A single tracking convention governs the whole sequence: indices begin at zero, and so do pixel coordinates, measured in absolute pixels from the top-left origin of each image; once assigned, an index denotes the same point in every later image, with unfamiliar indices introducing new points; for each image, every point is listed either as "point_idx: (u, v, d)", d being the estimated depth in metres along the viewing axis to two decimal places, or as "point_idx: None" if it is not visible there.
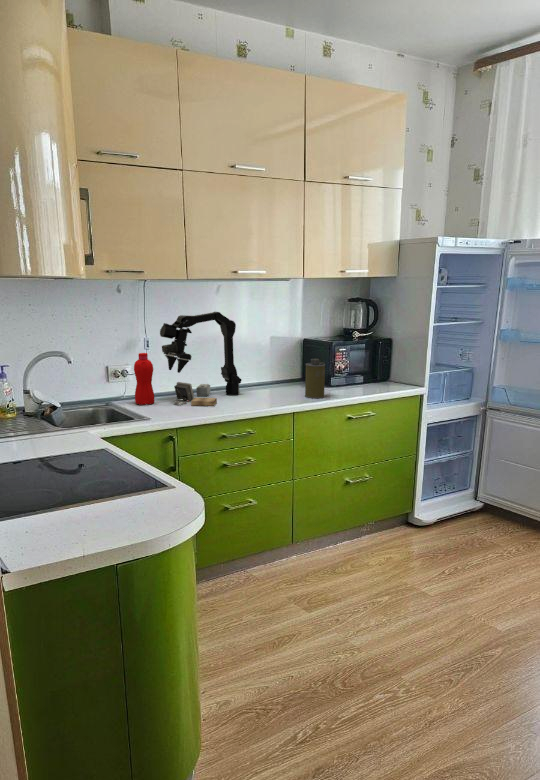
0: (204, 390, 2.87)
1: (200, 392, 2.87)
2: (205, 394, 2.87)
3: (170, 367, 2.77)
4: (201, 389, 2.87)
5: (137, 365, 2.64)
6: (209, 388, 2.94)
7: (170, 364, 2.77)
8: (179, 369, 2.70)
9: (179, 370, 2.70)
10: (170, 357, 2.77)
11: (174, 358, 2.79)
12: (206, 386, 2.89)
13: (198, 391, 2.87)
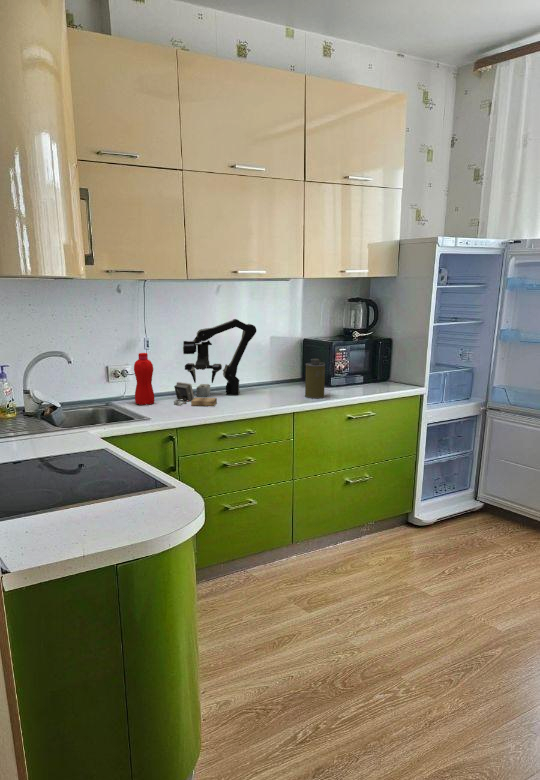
0: (204, 390, 2.87)
1: (200, 392, 2.87)
2: (205, 394, 2.87)
3: (195, 380, 2.91)
4: (201, 389, 2.87)
5: (137, 365, 2.64)
6: (209, 388, 2.94)
7: (194, 377, 2.91)
8: (213, 380, 2.90)
9: (213, 380, 2.90)
10: (193, 371, 2.89)
11: (194, 370, 2.92)
12: (206, 386, 2.89)
13: (198, 391, 2.87)
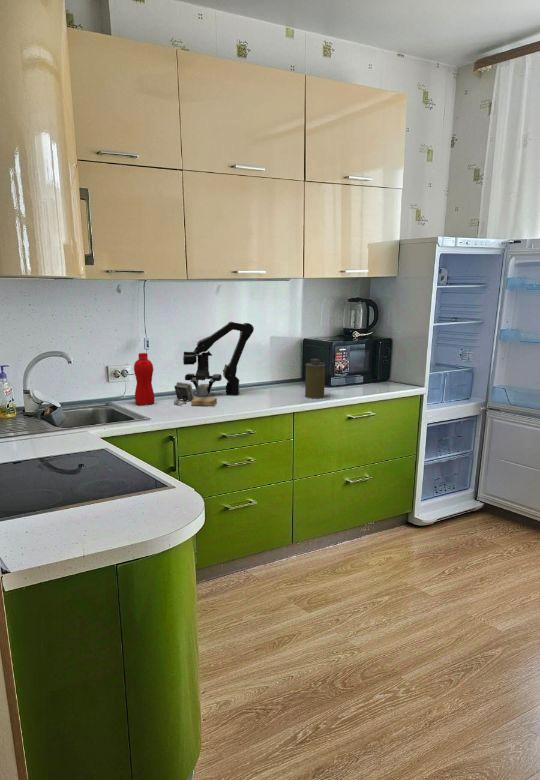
0: (204, 390, 2.87)
1: (200, 392, 2.87)
2: (205, 394, 2.87)
3: None
4: (201, 389, 2.87)
5: (137, 365, 2.64)
6: None
7: None
8: None
9: None
10: (196, 381, 2.90)
11: (197, 381, 2.93)
12: (206, 386, 2.89)
13: (198, 391, 2.87)
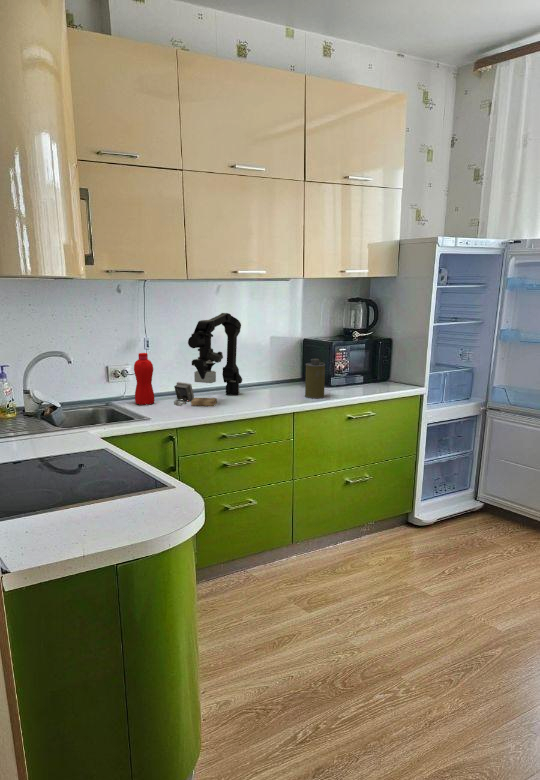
0: (214, 374, 2.71)
1: (213, 377, 2.69)
2: (215, 378, 2.72)
3: None
4: (213, 374, 2.69)
5: (137, 365, 2.64)
6: None
7: None
8: None
9: None
10: None
11: None
12: None
13: (212, 376, 2.68)
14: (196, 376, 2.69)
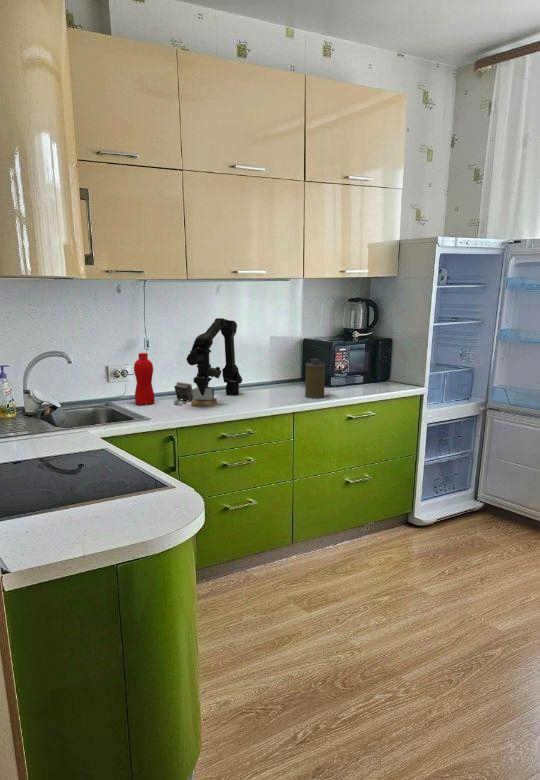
0: (213, 390, 2.70)
1: (212, 393, 2.68)
2: (213, 394, 2.71)
3: None
4: (212, 390, 2.68)
5: (137, 365, 2.64)
6: None
7: None
8: None
9: None
10: None
11: None
12: None
13: (212, 393, 2.67)
14: (195, 394, 2.67)
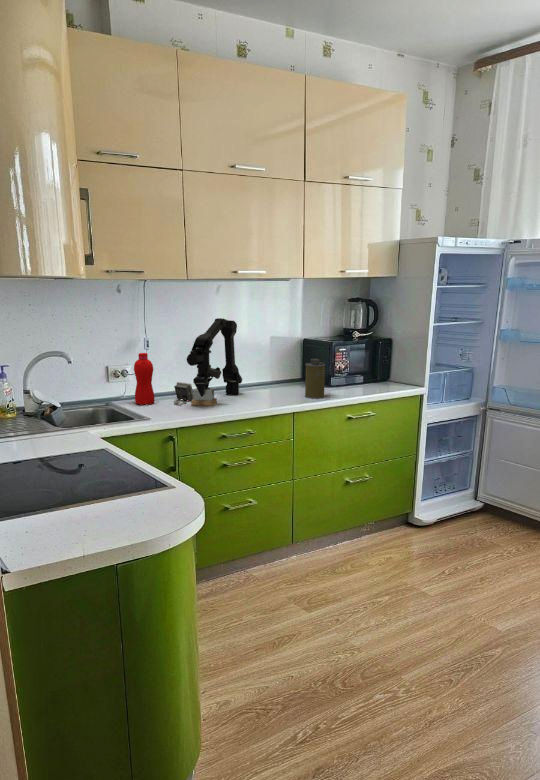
0: (213, 391, 2.70)
1: (212, 394, 2.68)
2: (213, 395, 2.71)
3: None
4: (212, 391, 2.69)
5: (137, 365, 2.64)
6: None
7: None
8: None
9: None
10: None
11: None
12: None
13: (212, 394, 2.67)
14: (195, 394, 2.67)
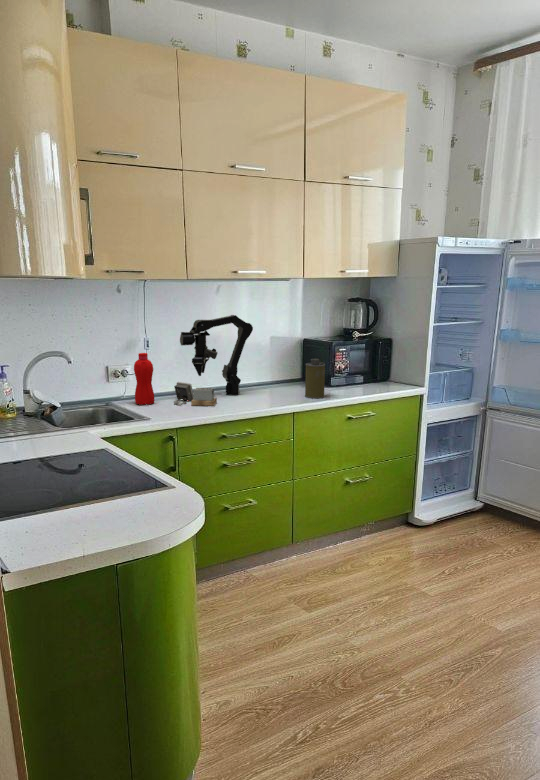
0: (213, 391, 2.70)
1: (212, 394, 2.68)
2: (213, 395, 2.71)
3: None
4: (212, 391, 2.69)
5: (137, 365, 2.64)
6: None
7: None
8: None
9: None
10: None
11: None
12: None
13: (212, 394, 2.67)
14: (195, 394, 2.67)
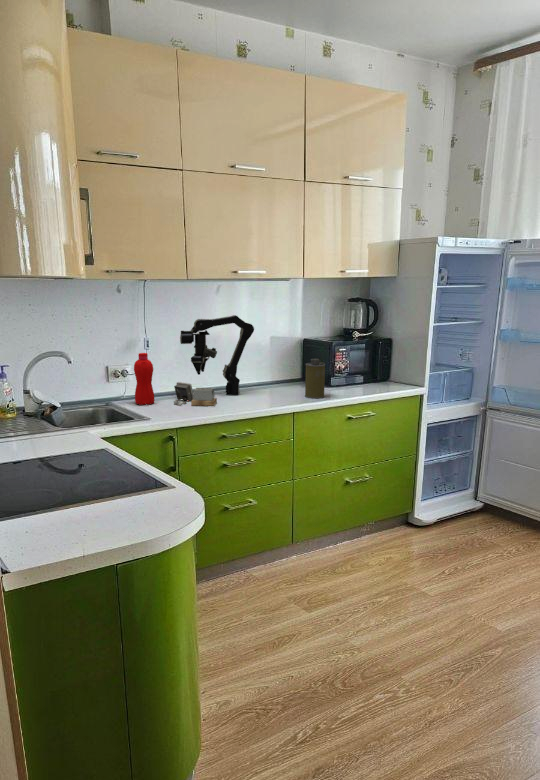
0: (213, 391, 2.70)
1: (212, 394, 2.68)
2: (213, 395, 2.71)
3: None
4: (212, 391, 2.69)
5: (137, 365, 2.64)
6: None
7: None
8: None
9: None
10: None
11: None
12: None
13: (212, 394, 2.67)
14: (195, 394, 2.67)
